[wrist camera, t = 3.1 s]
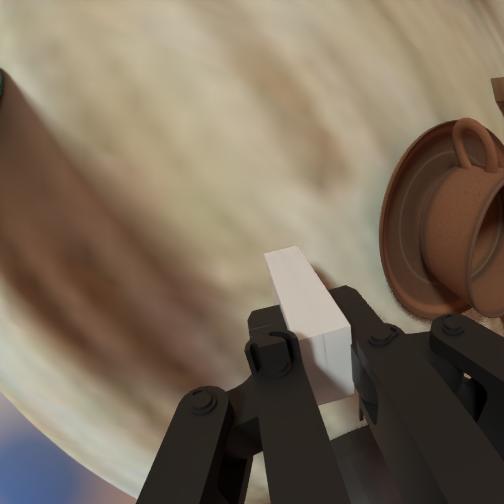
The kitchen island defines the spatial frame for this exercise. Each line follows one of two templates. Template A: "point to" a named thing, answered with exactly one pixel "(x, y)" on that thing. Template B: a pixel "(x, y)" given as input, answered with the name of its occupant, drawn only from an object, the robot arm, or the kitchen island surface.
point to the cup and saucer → (446, 222)
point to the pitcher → (0, 84)
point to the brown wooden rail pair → (498, 88)
